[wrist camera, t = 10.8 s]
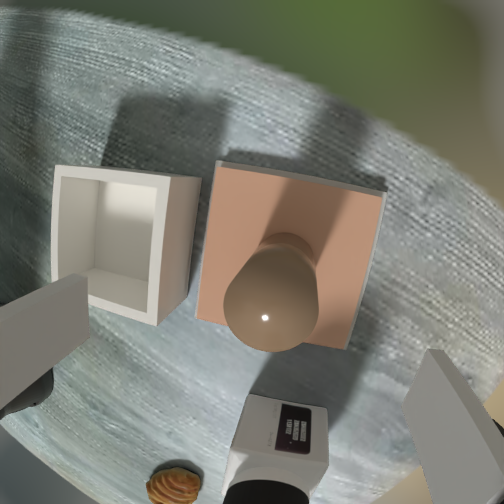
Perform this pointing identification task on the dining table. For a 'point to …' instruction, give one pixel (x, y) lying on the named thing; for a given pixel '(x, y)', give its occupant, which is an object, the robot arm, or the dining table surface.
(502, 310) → the dining table surface
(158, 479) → the pastry
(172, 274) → the white open box
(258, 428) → the container
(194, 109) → the dining table surface
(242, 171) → the lid
